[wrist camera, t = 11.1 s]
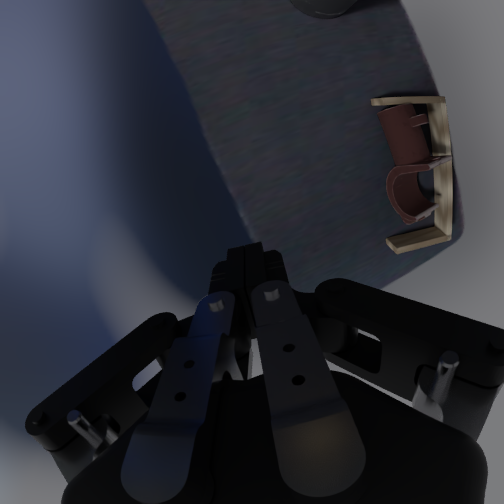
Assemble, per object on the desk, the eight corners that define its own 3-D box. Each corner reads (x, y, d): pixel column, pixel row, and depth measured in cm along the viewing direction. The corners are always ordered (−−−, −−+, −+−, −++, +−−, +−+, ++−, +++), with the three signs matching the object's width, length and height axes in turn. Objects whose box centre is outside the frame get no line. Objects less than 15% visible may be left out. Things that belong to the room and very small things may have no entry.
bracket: (393, 229, 41) (445, 232, 32) (358, 120, 38) (407, 100, 28) (416, 215, 43) (465, 216, 33) (385, 114, 39) (431, 97, 30)
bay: (370, 99, 35) (382, 97, 32) (430, 96, 35) (444, 96, 31) (386, 243, 45) (396, 254, 41) (438, 230, 44) (451, 239, 41)
